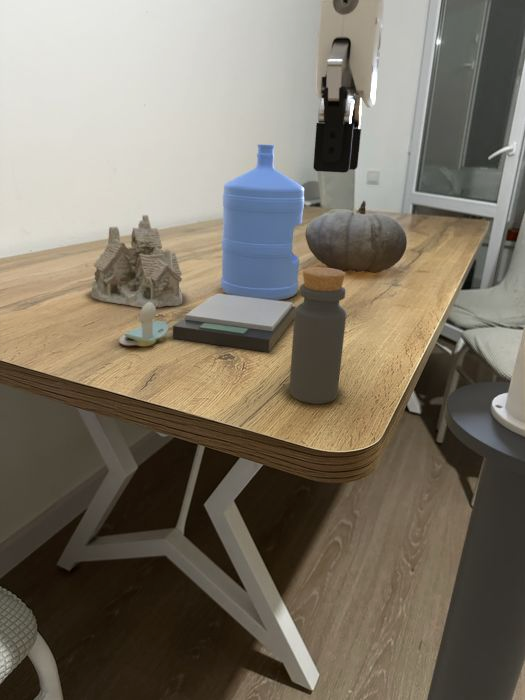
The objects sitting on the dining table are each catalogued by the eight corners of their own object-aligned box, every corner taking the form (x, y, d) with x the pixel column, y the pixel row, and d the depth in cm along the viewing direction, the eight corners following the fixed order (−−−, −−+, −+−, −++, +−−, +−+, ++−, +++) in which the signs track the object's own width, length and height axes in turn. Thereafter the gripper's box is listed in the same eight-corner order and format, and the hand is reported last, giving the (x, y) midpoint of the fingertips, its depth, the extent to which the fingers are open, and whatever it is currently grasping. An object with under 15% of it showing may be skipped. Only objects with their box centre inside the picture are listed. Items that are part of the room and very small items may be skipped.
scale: (294, 317, 91) (296, 302, 90) (268, 352, 75) (269, 334, 74) (214, 307, 94) (214, 292, 93) (172, 338, 78) (172, 320, 77)
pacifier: (109, 346, 74) (144, 353, 72) (105, 304, 72) (141, 310, 70) (141, 332, 80) (173, 337, 78) (138, 292, 78) (171, 297, 76)
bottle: (282, 398, 61) (290, 273, 56) (297, 379, 66) (306, 263, 61) (330, 408, 59) (344, 280, 54) (342, 388, 64) (355, 269, 59)
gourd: (317, 269, 115) (328, 189, 112) (288, 264, 139) (296, 198, 136) (418, 281, 121) (431, 205, 118) (374, 274, 145) (383, 211, 142)
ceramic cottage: (88, 287, 102) (86, 210, 95) (171, 286, 108) (174, 213, 102) (96, 316, 88) (94, 228, 82) (190, 313, 95) (194, 231, 89)
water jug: (245, 306, 96) (251, 143, 86) (207, 286, 108) (209, 142, 98) (312, 297, 104) (325, 147, 94) (270, 279, 116) (277, 145, 106)
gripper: (399, -82, 36) (371, 175, 42) (399, -11, 52) (378, 169, 58) (294, -77, 38) (281, 170, 44) (325, -9, 54) (312, 166, 60)
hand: (337, 170), depth 51 cm, fingers open, 9 cm apart
